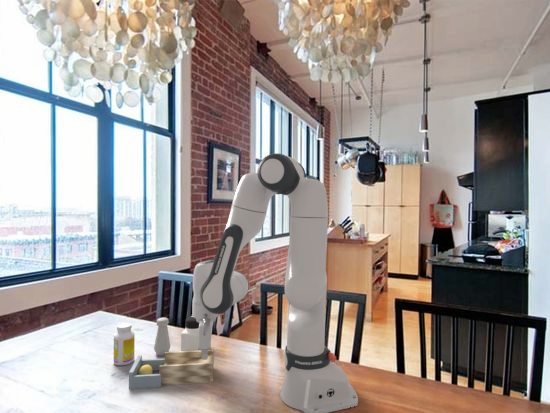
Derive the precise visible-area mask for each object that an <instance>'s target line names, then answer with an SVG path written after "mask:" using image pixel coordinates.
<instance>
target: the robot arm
mask: <svg viewBox="0 0 550 413" xmlns="http://www.w3.org/2000/svg"><path fill="white" fill-rule="evenodd" d="M306 175H307V174H306V170H305V168H304V166H303V165H302V164H301V163H300V162H299V161H297V160H296V159H294V158H293V157H291V156H288V155H286V154H282V153H271V154H270V153H269V154H267V155H266V156H265V157H264V158H262V159H261V161H260V162H259V164H258V166H257V171H256V172H248V173H245V174H244V175H243V176H242V177H241V178H240V180H239V182H238V185H237V186H236V190H235V192H234V195H233V199H232V203H231V208H230V212H229V215H228V219H227V223H226V226H225V229H224V230H223V233H222V236H221V238H220V241H219V244H218V247H217V251H216V254H215V257H214V259H207V260H204V261H199V262H198V263H197V264H196V265H195V266H194V269H193V274H192V291H193V297H192V310H191V311H192V314H191V316H193V317H194V318H196V321H197V322H199V332H198V349H199V350H201V352H202V360H207V359H208V350H211V347H212V335H213V334H212V333H213V324H214V322H215V321H216V320H217V318H218V317H219V316H220V315H221V314H224V313H226V312H227V311H228V310H229V309H230V308H231V307H232V306H234V305H235V304H237V303H238V302H239V301H241V300H242V299H244V297H246V296H247V295H248V292H249V288H250V287H249V281H248V279H247V277H246V276H245V275H244V274H243V273H241V272H240V271H235V270H236V265H237V262H238V259H239V257H240V256H239V255H240V253H241V252H242V250H243V249H244V247H245V246H246V245H247V244H248V243H249V242H250V241H251V240H253V239H254V238H255V237H256V236H257V235H259V233H260V232H261V230H262V228H263V226H264V223H265V220H266V217H267V212H268V207H269V203H270V201H271V199H272V197H273V196H274V195H283V196H287V197H288V199H289V205H290V208H289V209H290V212H289V213H290V214H289V241H288V252H287V257H286V258H287V259H286V268H285V279H284V296H285V298H286V300H287V302H288V304H289V307H288V315H287V323H286V331H287V332H286V346H285V351H284V367H285V369H284V378H283V382H282V387H281V390H280V393H279V394H280V395H279V396H280V399H281V401H282V402H283V403H284V404H286V405H287V406H288V407H290V408H293V409H296V410H299V411H302V412H303V413H332V412H336V411H341V410H346V409H349V408H350V407H351V408H355V407H357V406H358V405H359V396H358V393H357V392H356V390H355V389H354V387H353V386H352V385H351V384H350V381H349V378H348V375H347V374H346V372H345V371H344V369H343V368H341V367H340V366H339V365H338V364H336V361H337V356H336V355H335V353H334V352H332V351H331V350H330V348H328V347H327V346H326V345H325V338H326V337H325V336H326V310H327V293H328V292H327V288H328V287H327V286H328V275H327V271H326V268H327V267H326V265H327V249H328V231H329V230H328V229H329V228H328V227H329V226H328V225H329V222H328V220H329V207H328V206H329V204H328V203H329V202H328V196H327V195H328V194H327V189H326V186H325V184H324V183H323V182H321V181H320V180H317V179H315V178H307V176H306ZM354 406H355V407H354Z"/></svg>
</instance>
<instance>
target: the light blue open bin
mask: <svg viewBox="0 0 550 413" xmlns="http://www.w3.org/2000/svg"><path fill="white" fill-rule="evenodd" d="M134 360H135V361H133V364H132V365H131V367H130V370H129V372H128V389H129V390H131V389H133V390H134V389H150V388H151V389H152V388H161V387H162V385H161V380H162V378H161V374H159V369H160V365H164V364H165V357H164V358H149V359H143V356H142V355H137V357H136V359H134ZM144 365H150V366H151V367H152V374H150V375H139V370H140V368H141V367H142V366H144Z"/></svg>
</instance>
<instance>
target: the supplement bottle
mask: <svg viewBox="0 0 550 413" xmlns="http://www.w3.org/2000/svg"><path fill="white" fill-rule="evenodd" d="M132 327H133V325H132V323H131V322H130V323H129V322H123V323H119V324H117V325H116V331H117V332H115V333H114V335H113V363H114V365H116V366H126V365H129V364H132V363H134V360H135V332H134V331H133V330H132Z"/></svg>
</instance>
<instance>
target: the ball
mask: <svg viewBox="0 0 550 413" xmlns="http://www.w3.org/2000/svg"><path fill="white" fill-rule="evenodd" d="M150 374H152V367H151V366H150V365H144V366H142V367H141V368H140V370H139V375H150Z"/></svg>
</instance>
